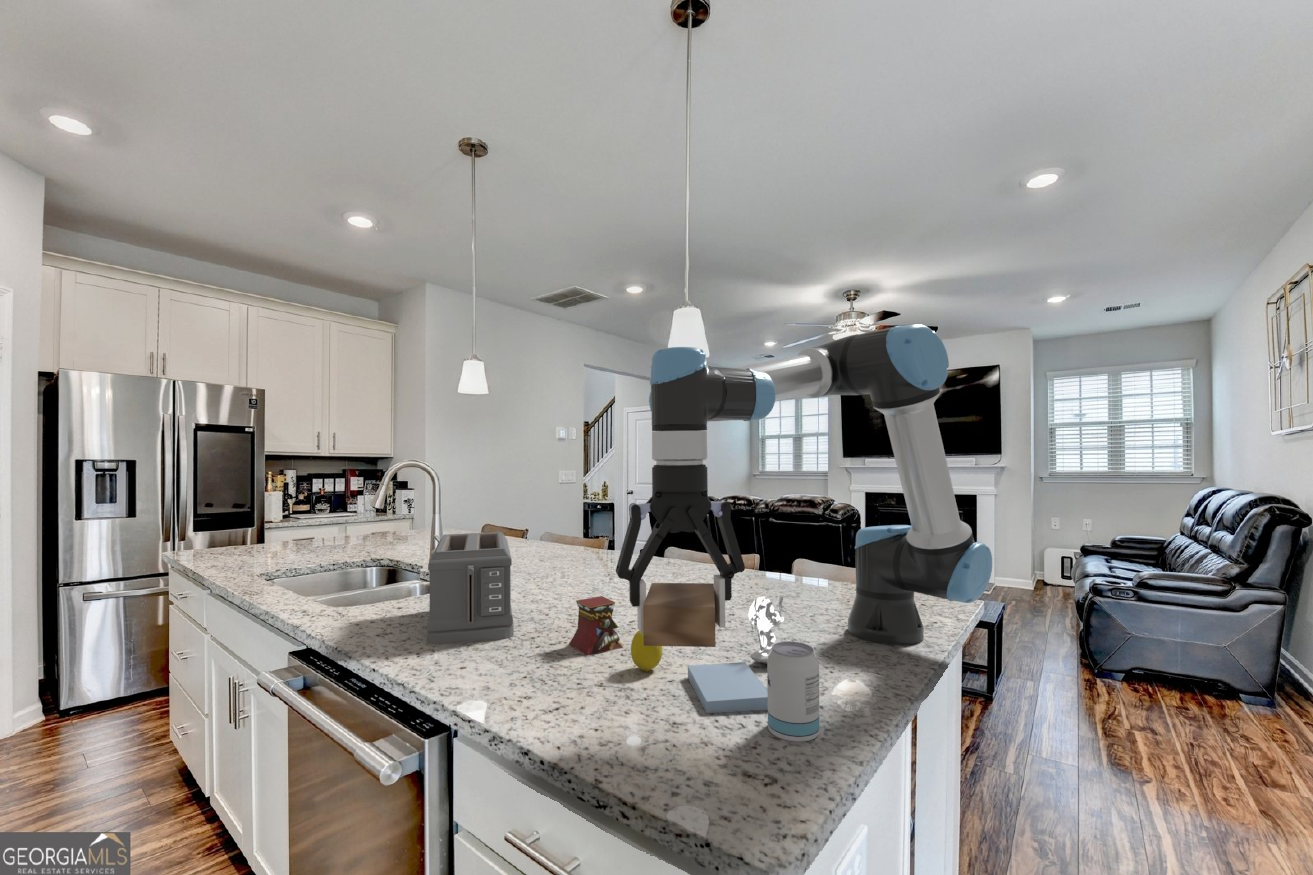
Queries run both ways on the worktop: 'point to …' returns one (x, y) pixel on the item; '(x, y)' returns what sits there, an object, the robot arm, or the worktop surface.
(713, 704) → the base brick
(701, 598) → the walnut brick
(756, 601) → the figurine
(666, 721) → the worktop surface
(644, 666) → the lemon
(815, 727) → the beverage can
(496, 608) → the toaster
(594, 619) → the tiki totem
